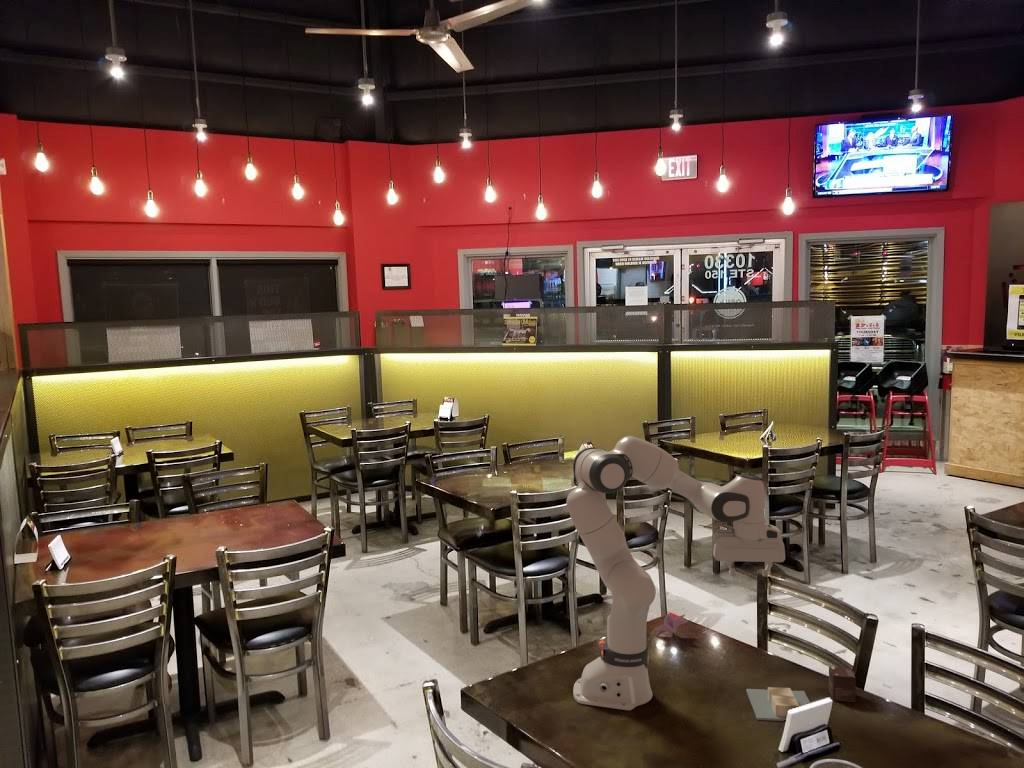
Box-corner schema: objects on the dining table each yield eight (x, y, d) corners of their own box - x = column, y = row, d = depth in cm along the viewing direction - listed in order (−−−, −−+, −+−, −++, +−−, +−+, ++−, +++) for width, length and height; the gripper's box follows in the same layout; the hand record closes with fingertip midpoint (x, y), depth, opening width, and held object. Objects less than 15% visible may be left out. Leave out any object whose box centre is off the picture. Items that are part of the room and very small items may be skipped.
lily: (693, 638, 254) (683, 610, 257) (696, 638, 243) (685, 609, 246) (660, 649, 255) (650, 620, 258) (660, 649, 244) (650, 620, 247)
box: (855, 702, 208) (856, 677, 207) (832, 701, 209) (833, 675, 208) (850, 692, 214) (851, 667, 213) (828, 690, 215) (828, 665, 214)
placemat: (757, 719, 200) (757, 717, 200) (746, 690, 216) (746, 688, 215) (819, 722, 198) (819, 720, 198) (803, 693, 214) (804, 691, 213)
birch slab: (767, 697, 210) (775, 715, 200) (767, 687, 210) (775, 705, 200) (789, 698, 210) (799, 716, 200) (790, 687, 209) (799, 706, 199)
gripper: (714, 531, 219) (714, 578, 220) (787, 533, 216) (786, 579, 217) (711, 526, 225) (711, 571, 226) (781, 527, 222) (781, 572, 223)
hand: (748, 575), depth 222 cm, fingers open, 8 cm apart
